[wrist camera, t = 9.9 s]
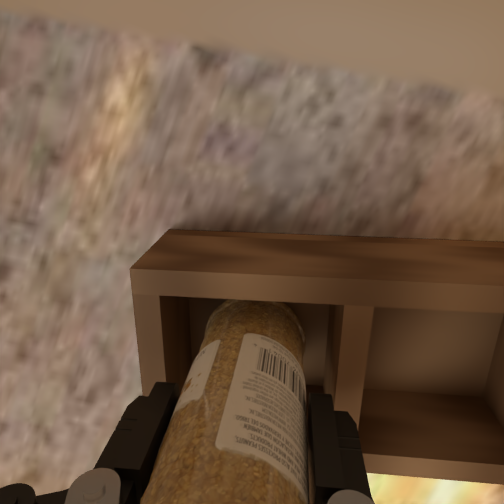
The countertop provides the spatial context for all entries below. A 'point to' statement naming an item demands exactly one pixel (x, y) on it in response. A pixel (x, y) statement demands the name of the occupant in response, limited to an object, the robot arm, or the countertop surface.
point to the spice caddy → (353, 333)
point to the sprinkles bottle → (239, 414)
